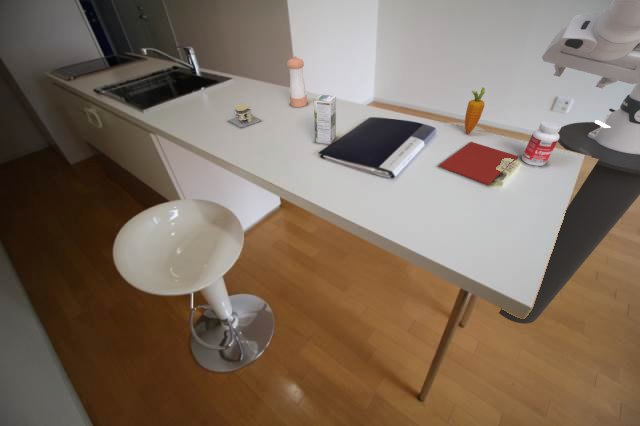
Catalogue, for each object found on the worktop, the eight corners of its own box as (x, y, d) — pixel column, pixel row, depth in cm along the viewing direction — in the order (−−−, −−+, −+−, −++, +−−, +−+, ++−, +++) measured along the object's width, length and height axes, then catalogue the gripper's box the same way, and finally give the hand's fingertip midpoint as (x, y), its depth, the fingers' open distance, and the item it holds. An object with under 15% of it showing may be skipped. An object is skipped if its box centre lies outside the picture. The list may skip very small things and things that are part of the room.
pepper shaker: (298, 108, 125) (294, 59, 113) (287, 104, 129) (282, 57, 116) (310, 103, 129) (307, 55, 116) (299, 100, 133) (295, 53, 120)
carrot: (463, 137, 97) (476, 91, 87) (457, 131, 101) (469, 86, 91) (477, 136, 97) (493, 90, 87) (471, 130, 101) (485, 85, 91)
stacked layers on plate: (228, 121, 117) (225, 107, 113) (247, 114, 121) (245, 101, 118) (241, 127, 111) (238, 113, 108) (260, 121, 116) (258, 107, 112)
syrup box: (320, 135, 103) (318, 93, 93) (336, 137, 101) (336, 95, 92) (315, 142, 99) (312, 99, 89) (331, 144, 97) (330, 101, 88)
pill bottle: (528, 166, 81) (546, 129, 74) (516, 156, 86) (532, 120, 79) (550, 166, 81) (570, 128, 74) (537, 155, 86) (555, 119, 79)
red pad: (470, 143, 94) (471, 141, 93) (517, 157, 85) (517, 155, 85) (438, 166, 83) (439, 164, 83) (487, 185, 75) (488, 183, 75)
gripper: (684, 36, 56) (633, 81, 69) (567, 13, 63) (541, 58, 76) (669, 62, 56) (621, 103, 69) (553, 36, 63) (529, 77, 76)
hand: (578, 79), depth 72 cm, fingers open, 8 cm apart
